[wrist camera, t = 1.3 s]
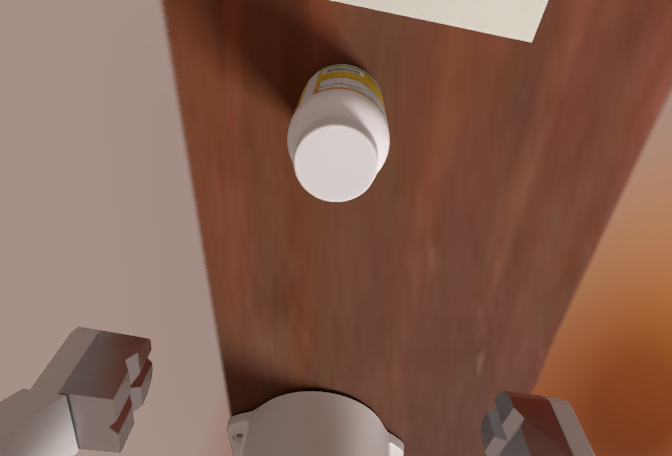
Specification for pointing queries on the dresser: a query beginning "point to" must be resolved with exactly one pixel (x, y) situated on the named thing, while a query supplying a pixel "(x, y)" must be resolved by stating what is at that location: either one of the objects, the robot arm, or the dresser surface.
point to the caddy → (469, 14)
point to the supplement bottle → (339, 133)
